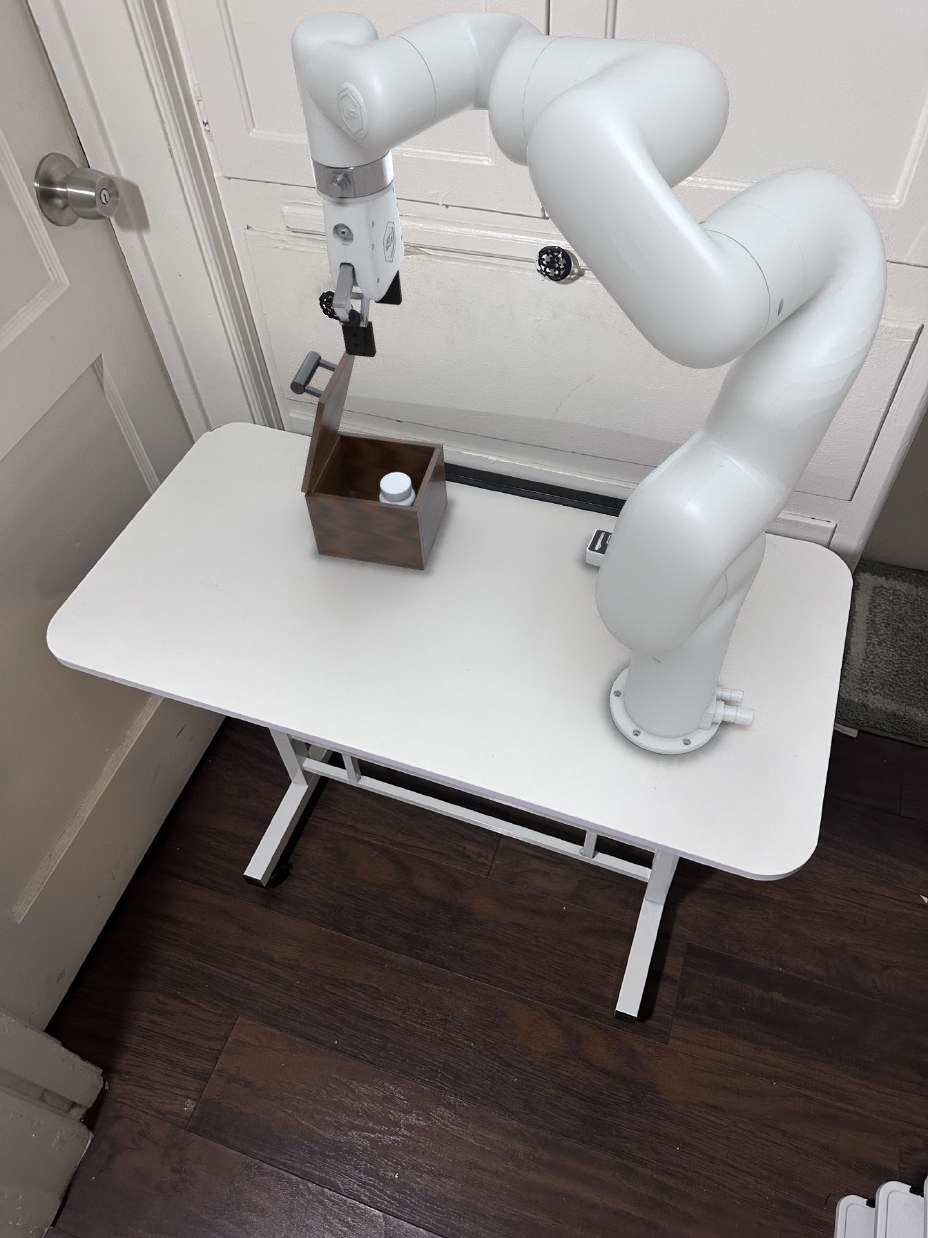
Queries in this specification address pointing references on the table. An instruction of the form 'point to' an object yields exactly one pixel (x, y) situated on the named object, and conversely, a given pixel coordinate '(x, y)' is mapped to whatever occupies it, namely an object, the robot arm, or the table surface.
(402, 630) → the table surface
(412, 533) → the chest
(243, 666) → the table surface
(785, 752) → the table surface
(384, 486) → the pill bottle
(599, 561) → the multiport hub
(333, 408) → the chest lid
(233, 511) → the table surface
